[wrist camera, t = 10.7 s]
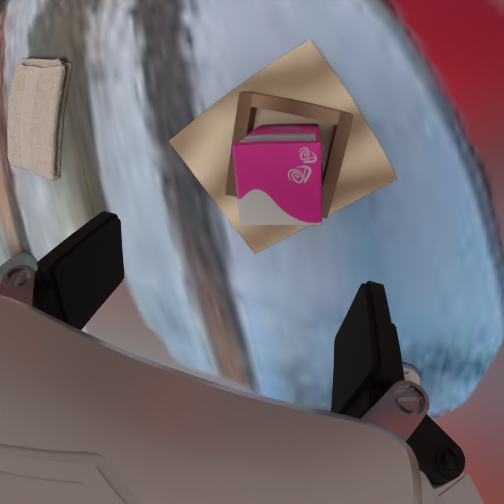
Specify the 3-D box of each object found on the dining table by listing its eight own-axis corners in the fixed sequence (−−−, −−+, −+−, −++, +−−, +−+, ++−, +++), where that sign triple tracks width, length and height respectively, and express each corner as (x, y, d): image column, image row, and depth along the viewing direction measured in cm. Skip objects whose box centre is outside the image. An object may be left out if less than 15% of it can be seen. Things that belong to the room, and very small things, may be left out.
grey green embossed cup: (54, 287, 50) (17, 326, 40) (32, 291, 54) (-1, 325, 44) (30, 243, 46) (-13, 278, 36) (10, 251, 49) (-28, 283, 39)
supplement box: (322, 179, 30) (322, 229, 20) (263, 179, 31) (235, 228, 21) (320, 122, 27) (321, 142, 17) (259, 123, 28) (225, 145, 18)
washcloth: (77, 57, 28) (60, 58, 26) (64, 179, 38) (50, 187, 35) (26, 56, 28) (11, 58, 26) (19, 162, 38) (6, 169, 36)
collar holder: (395, 175, 29) (404, 188, 25) (256, 249, 37) (249, 268, 33) (310, 41, 24) (309, 34, 20) (172, 139, 32) (155, 147, 28)
